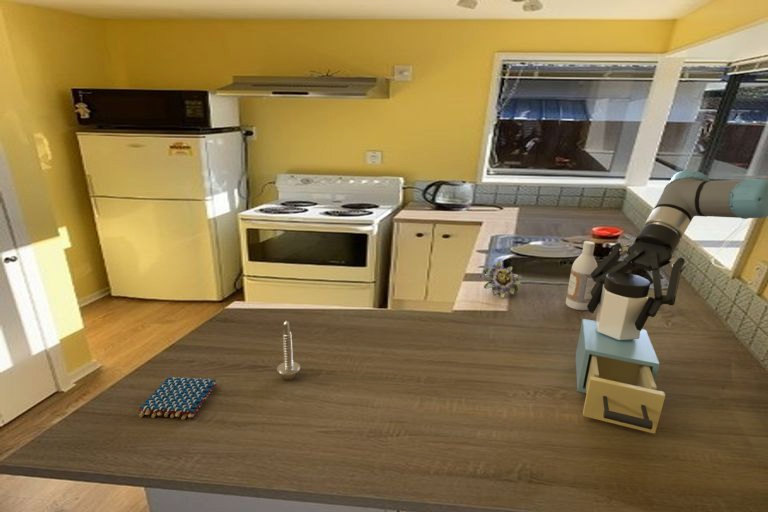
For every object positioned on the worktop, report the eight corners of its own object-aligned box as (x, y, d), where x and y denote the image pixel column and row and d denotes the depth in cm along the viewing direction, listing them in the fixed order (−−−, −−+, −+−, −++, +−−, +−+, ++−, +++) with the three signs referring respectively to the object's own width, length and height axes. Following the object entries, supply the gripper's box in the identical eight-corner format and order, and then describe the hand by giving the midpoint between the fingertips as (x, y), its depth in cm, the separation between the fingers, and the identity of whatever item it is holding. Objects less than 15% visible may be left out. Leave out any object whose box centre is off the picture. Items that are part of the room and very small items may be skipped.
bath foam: (561, 301, 130) (572, 238, 124) (583, 301, 131) (595, 239, 124) (571, 311, 124) (583, 245, 118) (595, 311, 124) (607, 246, 118)
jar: (621, 321, 95) (632, 271, 92) (648, 339, 88) (662, 285, 84) (585, 323, 94) (595, 272, 90) (610, 341, 86) (621, 287, 83)
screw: (296, 367, 93) (304, 379, 89) (274, 374, 90) (281, 386, 86) (293, 313, 88) (302, 323, 85) (270, 318, 86) (278, 328, 82)
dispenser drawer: (661, 456, 69) (673, 416, 67) (584, 436, 73) (592, 397, 71) (642, 390, 86) (651, 356, 84) (580, 376, 90) (586, 344, 88)
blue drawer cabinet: (648, 407, 83) (659, 364, 79) (577, 391, 87) (585, 349, 84) (636, 368, 96) (646, 329, 93) (575, 356, 100) (582, 318, 97)
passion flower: (499, 313, 134) (485, 288, 127) (485, 293, 143) (471, 270, 137) (530, 294, 133) (518, 268, 126) (513, 276, 142) (501, 251, 136)
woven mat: (167, 383, 86) (166, 374, 85) (218, 386, 86) (217, 377, 85) (136, 417, 76) (134, 408, 76) (194, 421, 76) (192, 411, 75)
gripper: (722, 255, 86) (673, 347, 82) (613, 232, 103) (568, 308, 98) (721, 234, 82) (669, 331, 77) (607, 213, 98) (559, 292, 93)
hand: (612, 318), depth 88 cm, fingers closed on jar, 9 cm apart
